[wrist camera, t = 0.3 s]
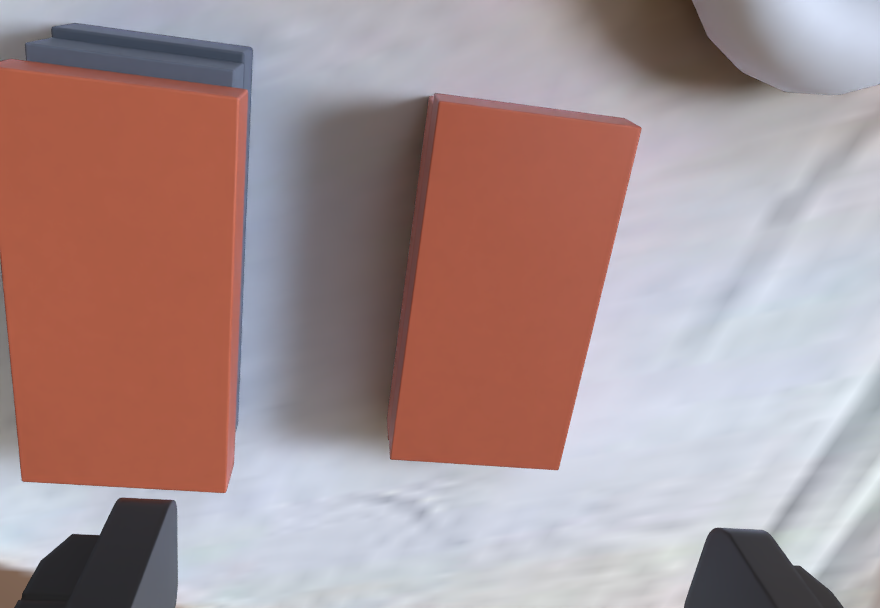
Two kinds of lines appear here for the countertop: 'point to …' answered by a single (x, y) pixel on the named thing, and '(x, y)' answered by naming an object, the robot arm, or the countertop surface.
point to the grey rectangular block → (153, 73)
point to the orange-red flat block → (503, 279)
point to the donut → (799, 41)
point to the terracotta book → (122, 274)
